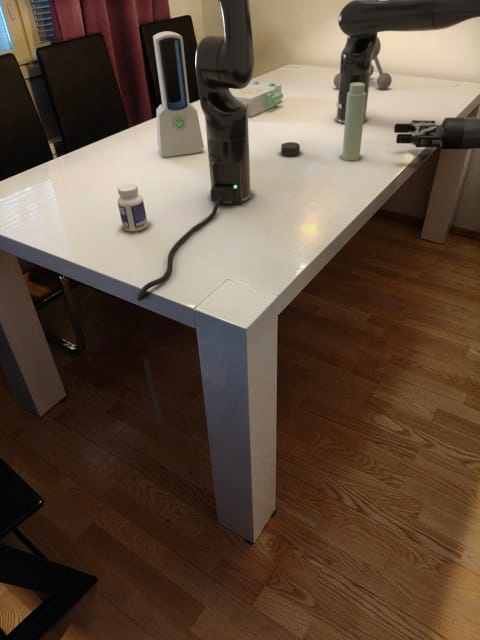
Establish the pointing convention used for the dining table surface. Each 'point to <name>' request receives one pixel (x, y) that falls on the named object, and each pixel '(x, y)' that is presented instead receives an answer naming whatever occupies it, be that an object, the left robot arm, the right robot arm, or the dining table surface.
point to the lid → (290, 149)
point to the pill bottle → (131, 208)
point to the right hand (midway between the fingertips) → (395, 133)
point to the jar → (354, 121)
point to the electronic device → (176, 106)
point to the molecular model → (383, 79)
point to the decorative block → (258, 96)
